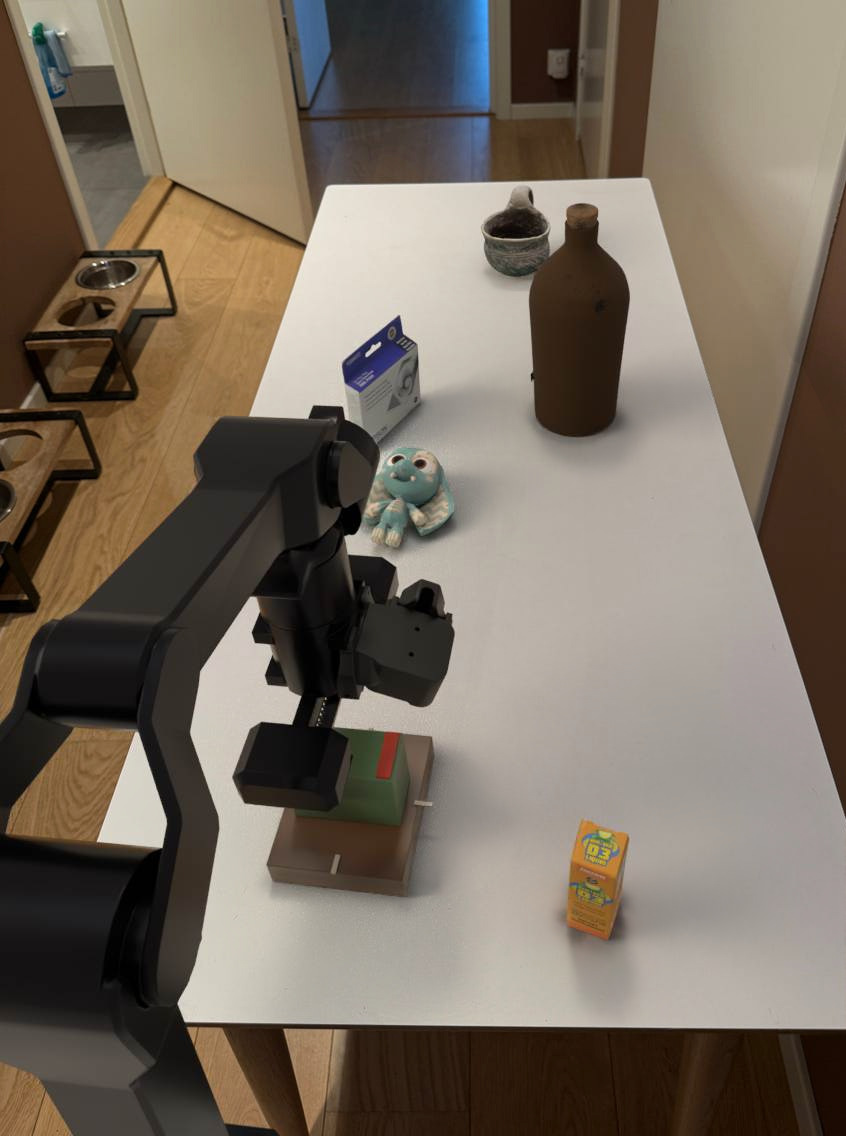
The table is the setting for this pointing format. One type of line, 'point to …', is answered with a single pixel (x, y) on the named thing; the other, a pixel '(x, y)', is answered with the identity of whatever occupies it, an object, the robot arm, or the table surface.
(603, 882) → the supplement box
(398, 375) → the ink box
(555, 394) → the olive oil
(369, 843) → the brown rectangular platform
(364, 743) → the green box
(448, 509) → the stuffed animal
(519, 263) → the mug
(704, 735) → the table surface
